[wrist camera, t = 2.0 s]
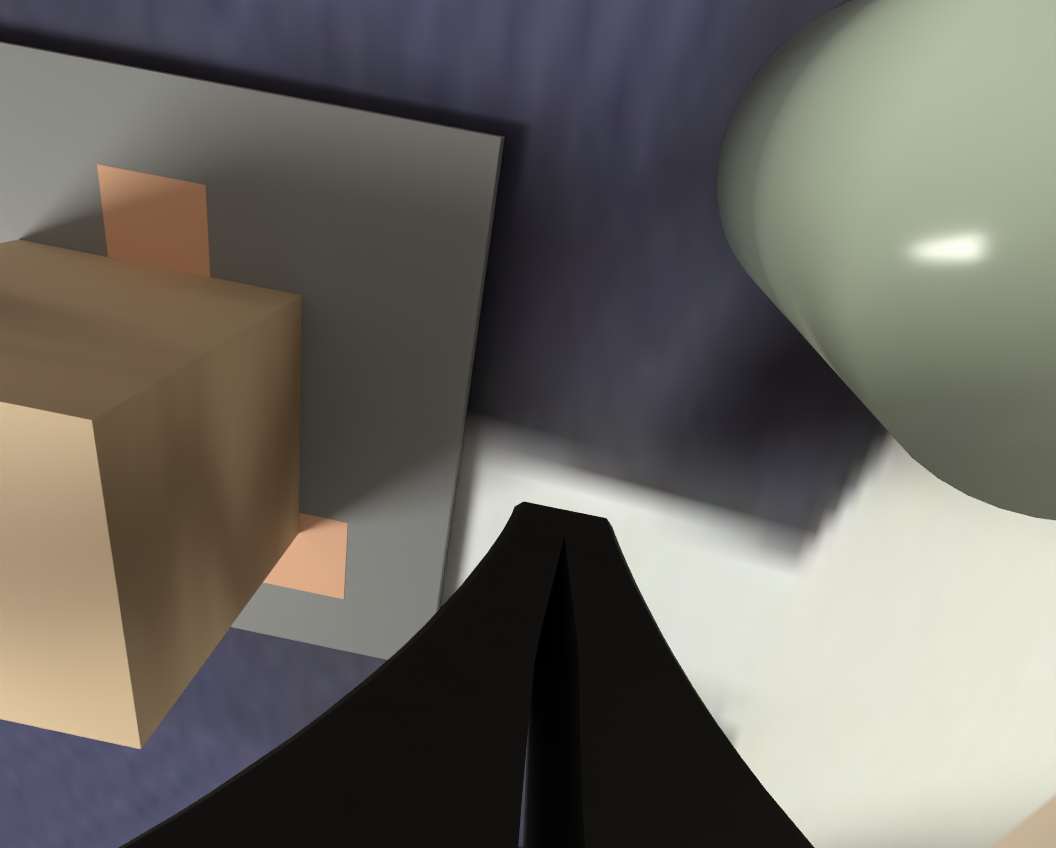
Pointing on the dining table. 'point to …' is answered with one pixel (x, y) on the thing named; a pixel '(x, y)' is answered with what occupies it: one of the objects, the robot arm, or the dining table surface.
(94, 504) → the oak block
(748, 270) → the sage cylinder
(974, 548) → the dining table surface
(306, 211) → the letter tile
